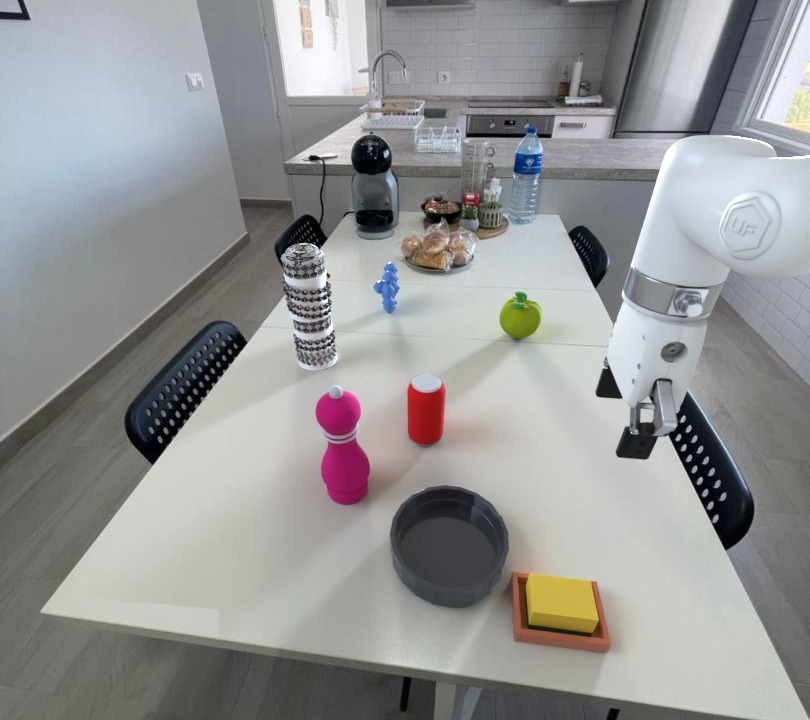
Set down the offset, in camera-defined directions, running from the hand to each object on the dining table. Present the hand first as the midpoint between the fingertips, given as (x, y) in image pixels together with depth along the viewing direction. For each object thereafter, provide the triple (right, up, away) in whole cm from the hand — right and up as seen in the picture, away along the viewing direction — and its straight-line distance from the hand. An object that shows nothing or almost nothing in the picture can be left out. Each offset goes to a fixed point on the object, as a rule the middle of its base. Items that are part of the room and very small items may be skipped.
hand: (618, 424), depth 51 cm
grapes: (-29, +20, +64) cm, 73 cm away
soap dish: (-6, -23, +3) cm, 24 cm away
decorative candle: (-43, +7, +46) cm, 64 cm away
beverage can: (-21, -6, +27) cm, 35 cm away
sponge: (-6, -23, +2) cm, 24 cm away
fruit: (+2, +13, +53) cm, 55 cm away
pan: (-19, -18, +9) cm, 28 cm away
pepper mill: (-33, -13, +18) cm, 40 cm away
